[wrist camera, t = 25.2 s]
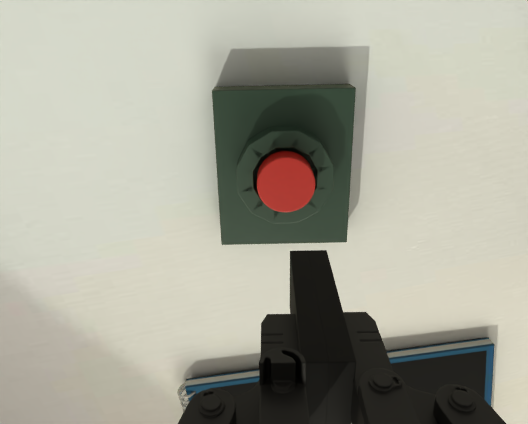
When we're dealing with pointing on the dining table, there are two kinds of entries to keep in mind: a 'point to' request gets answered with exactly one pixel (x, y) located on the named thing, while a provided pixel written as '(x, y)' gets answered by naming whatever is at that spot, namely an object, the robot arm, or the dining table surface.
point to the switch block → (283, 139)
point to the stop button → (285, 181)
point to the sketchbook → (403, 363)
